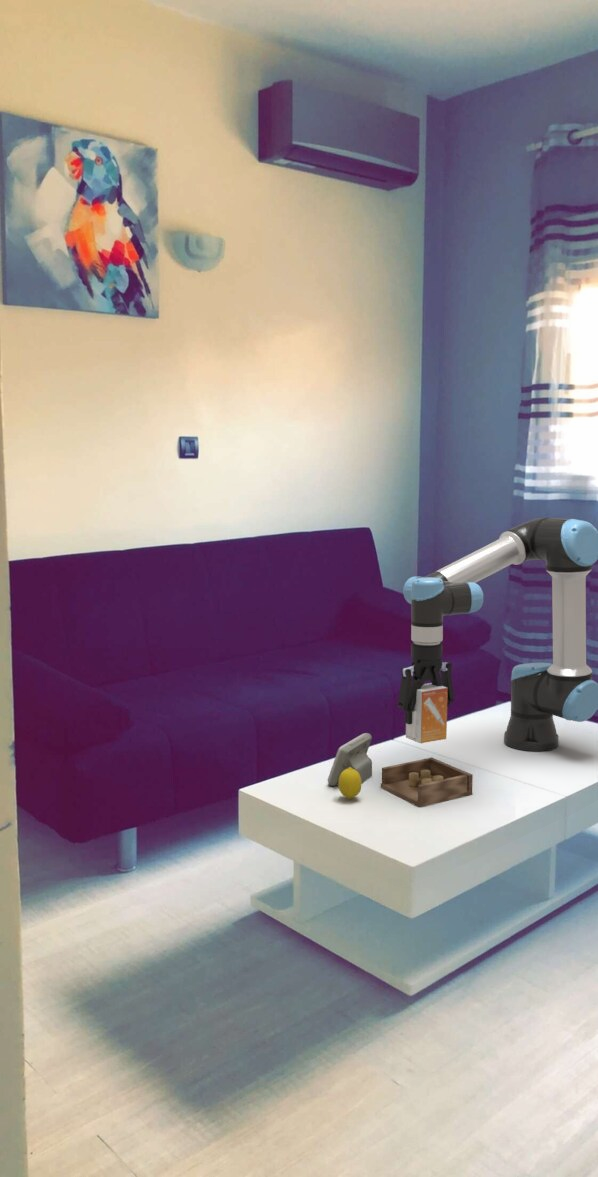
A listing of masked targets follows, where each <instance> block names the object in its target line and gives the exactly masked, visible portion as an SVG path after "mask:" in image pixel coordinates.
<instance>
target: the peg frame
mask: <svg viewBox="0 0 598 1177" xmlns="http://www.w3.org/2000/svg"><path fill="white" fill-rule="evenodd" d="M473 777H474V775H473V774H471V773H469V772H467V771H465V770H463V769H460V768H457V767H455V766H453V765H451V764H448V763H446V762H444V761H441V760H439V759H437V758H434V757H432V756H431V757H427V758H424V759H423V758H422V759H417V760H413V761H408V762H403V763H399V764H394V765H389V766H384V767H381V783H380V784H379V785H380V788H381V789H382V790H385V791H386V792H388V793H391V794H392V795H395V796H396V797H398V798H400V799H402V800H405V801H407V802H408V803H411V805H414V806H416V807H418V808H423V807H427V806H432V805H434V804H435V805H436V804H439V803H443V802H444V803H445V802H447V801H451V800H456V799H461V798H464V797H469V796H472V795H473V783H474V782H473V779H474V778H473Z"/></svg>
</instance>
